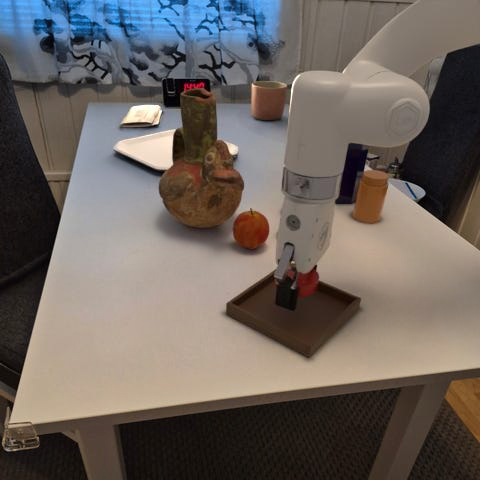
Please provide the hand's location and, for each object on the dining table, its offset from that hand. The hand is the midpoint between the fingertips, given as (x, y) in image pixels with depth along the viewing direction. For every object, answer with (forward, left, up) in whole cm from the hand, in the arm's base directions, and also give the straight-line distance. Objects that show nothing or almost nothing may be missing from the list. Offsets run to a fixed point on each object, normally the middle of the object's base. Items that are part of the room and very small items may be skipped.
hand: (295, 294), depth 68 cm
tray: (0, 0, -3) cm, 3 cm away
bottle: (+17, -46, -3) cm, 49 cm away
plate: (+66, -40, -3) cm, 77 cm away
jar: (+7, -40, -3) cm, 41 cm away
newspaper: (+101, -59, -3) cm, 117 cm away
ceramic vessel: (+31, -13, -3) cm, 34 cm away
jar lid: (0, 0, +3) cm, 3 cm away
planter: (+72, -92, -3) cm, 117 cm away
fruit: (+18, -12, -3) cm, 22 cm away
